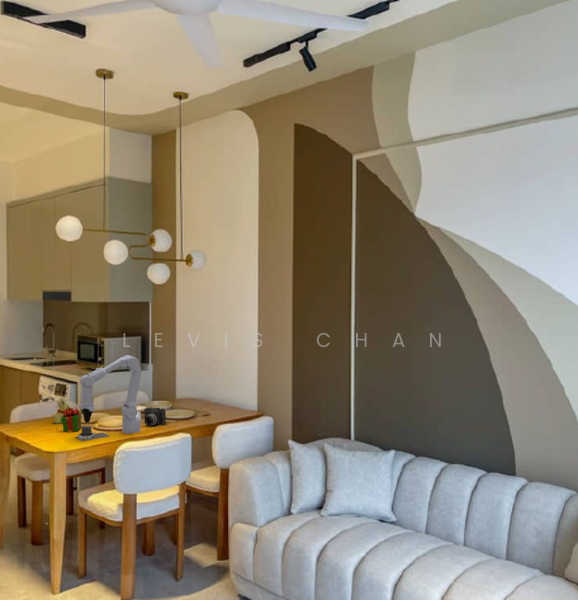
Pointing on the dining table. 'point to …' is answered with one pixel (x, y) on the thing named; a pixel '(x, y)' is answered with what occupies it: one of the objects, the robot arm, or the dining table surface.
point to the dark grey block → (86, 430)
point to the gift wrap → (71, 420)
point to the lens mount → (91, 436)
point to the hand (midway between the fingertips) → (87, 422)
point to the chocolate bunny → (60, 410)
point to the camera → (155, 416)
